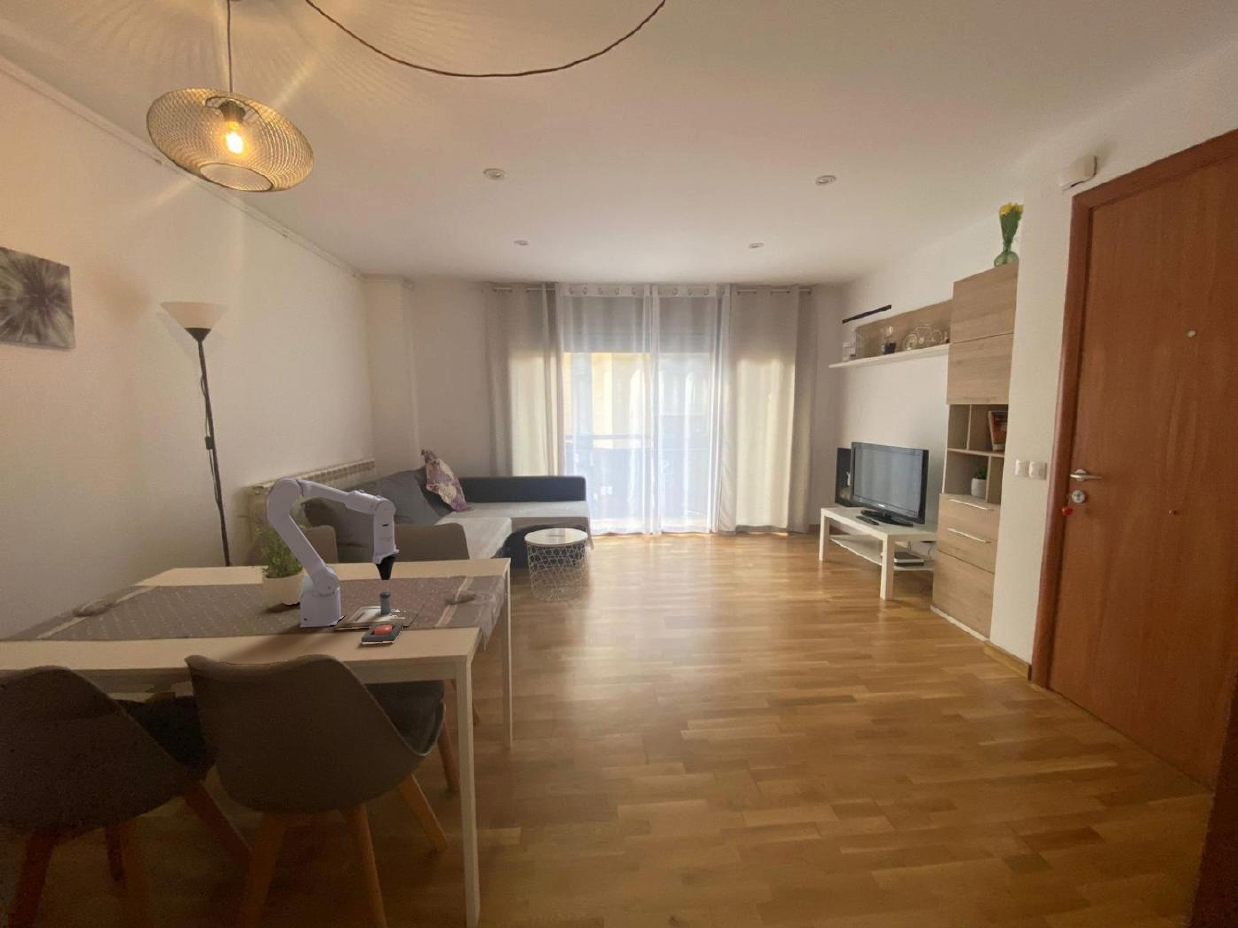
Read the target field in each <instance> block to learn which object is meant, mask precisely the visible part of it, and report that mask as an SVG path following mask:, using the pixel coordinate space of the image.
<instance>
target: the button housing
mask: <svg viewBox="0 0 1238 928" xmlns="http://www.w3.org/2000/svg"><path fill="white" fill-rule="evenodd" d="M382 625H391V626H392V631H391V633H390V634H376V635H374V629H375V628H376V627H378V626H382ZM402 627H403V623H395V624H376V625H372V626H371V628H370V629H367V631H366V632H365V633H364V634H363V635H362V637H361V643H362V642H383V641H394V640H395V639H396V637H397V636H398V635H399V633H400V631H401V630H402ZM403 628H404V627H403ZM399 636H400V635H399Z"/></svg>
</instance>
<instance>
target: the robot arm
mask: <svg viewBox="0 0 1238 928" xmlns="http://www.w3.org/2000/svg"><path fill="white" fill-rule="evenodd" d="M268 494H269V495H268V501H267V502H268V503H267V511H266V518H267V520H268V522H269V523H270V524H271V526H272V527H273V528H274V530H275V531H276V532H277V533H278V535H279V536H280V538H281V539H282V540H283V542H284V543H285V545H286V546H287V547H288V548H289V550H290V551H291V552H292V554H293V555H294V557H295V558H296V559H297V560H298V562H299V563H300V564H301V566H302V567H303V568H304V569H305V571H306V573H307V576H309V577H310V578H311V580H312V582H313V589H312V591H311V592H308V593H305V594H304V595H303V597H302V599H301V603H299V604H300V605H299V606H300V607H299V608H300V609H299V610H300V623H301V624H300V625H299V628H313V627H314V628H316V627H331V626H330V625H334V626H336V625H337V624H338V623H339V622H338V621H337V620H338V619H342V618H343V617H344V616H342V617H341V613H342V612H341V611H342V610H341V609H342V608H341V590H340V589H341V588H340V579H339V577H338V575H337V573H336V569H334V567H333V566H330V565H328V564H326V563H325V561H324V560H323V559H322V558H321V556H320V555H319V554H318V553H317V551H316V549H315V548H314V547H313V546H312V544H311V543H310V541H309V540H308V538H307V537H306V536H305V534H304V533H303V532H302V530H301V529H300V527H299V526H298V524H297V523H296V522H295V521H294V519H293V518H292V516H291V515H290V512H291V510H292V508H293V505H294V504H295V503H296V502H297V500H298V499H299V498H300V497H302V499H307V498H310V497H311V498H312V497H313V496H314V497H318V498H324V499H328V500H331V501H335V502H339V503H343V504H344V505H345V507H346V508H347V509H349V510H352V511H356V512H360V513H362V514H366V515H373V546H374V547H373V549H374V551H373V556H372V564H373V565H375V566H376V568H377V571H378V574H379V576H380V580H381V581H388V580H391V577H392V573H393V571H392V570H393V566H394V563H395V562H396V561H395V560H396V558H397V554H398V553H400V549H397V544H395V542H396V541H395V521H394V518H395V517H394V515H395V513H396V511H397V508H396V507H395V504H394V503H393V502H392V501H391V500H389V499H387V498H385V497H384V496H381V495H378V494H377V495H373V494H370V493H366V492H365V490H363V489H359V490H356V489H354V490H352V491H349V492H346V491H344V490H340V489H339V488H338V489H337V488H334V487H331V486H329V485H326V484H322V483H319V482H316V481H312V480H307V479H301V478H297V479H296V478H295V477H292V476H282V477H279V478H278V479H276V480H275V481H274V483H273V484H272V486H271V488H270V490H269V492H268ZM337 622H338V623H337Z"/></svg>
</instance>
